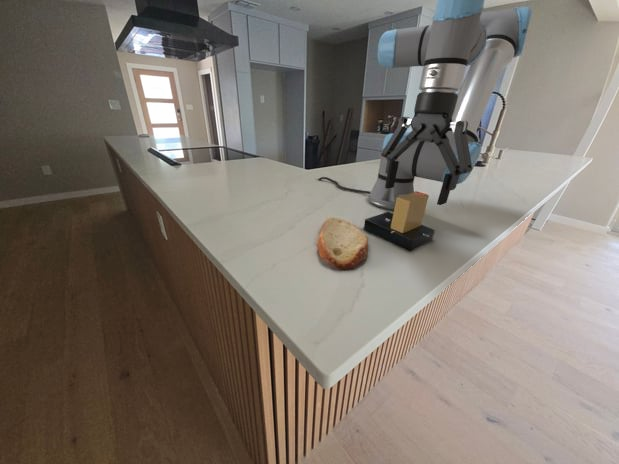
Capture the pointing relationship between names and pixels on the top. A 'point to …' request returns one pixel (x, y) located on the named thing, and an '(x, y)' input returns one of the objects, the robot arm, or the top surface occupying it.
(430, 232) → the black flat block
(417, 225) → the wooden block
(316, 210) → the top surface
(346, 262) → the bread slice
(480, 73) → the robot arm
